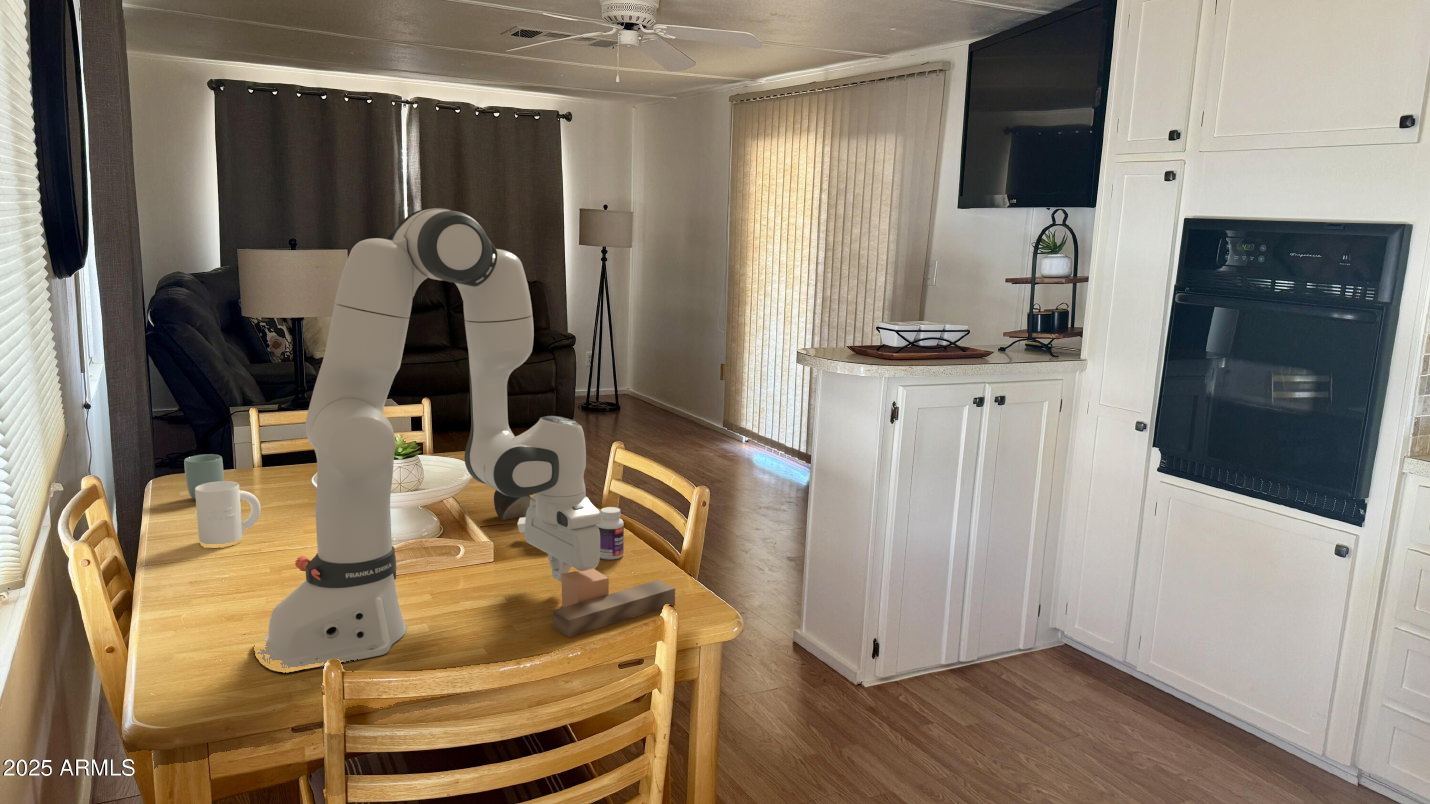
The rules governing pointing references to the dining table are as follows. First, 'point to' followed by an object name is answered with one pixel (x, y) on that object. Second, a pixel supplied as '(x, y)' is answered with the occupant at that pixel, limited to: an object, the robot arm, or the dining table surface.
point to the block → (583, 586)
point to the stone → (510, 506)
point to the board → (612, 608)
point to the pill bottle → (611, 534)
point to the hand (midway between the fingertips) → (560, 579)
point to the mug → (223, 512)
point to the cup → (202, 471)
